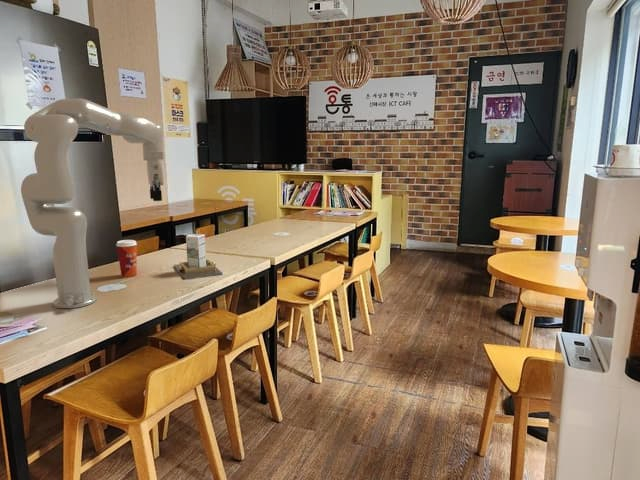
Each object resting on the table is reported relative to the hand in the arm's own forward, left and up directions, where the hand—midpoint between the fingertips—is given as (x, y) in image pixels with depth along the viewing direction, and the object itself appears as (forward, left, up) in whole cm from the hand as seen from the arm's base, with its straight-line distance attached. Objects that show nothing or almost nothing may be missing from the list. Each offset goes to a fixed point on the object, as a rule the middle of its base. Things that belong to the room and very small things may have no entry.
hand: (156, 199), depth 184 cm
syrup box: (-7, -13, -29) cm, 33 cm away
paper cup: (-2, +12, -30) cm, 32 cm away
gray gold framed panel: (-7, -14, -30) cm, 33 cm away
